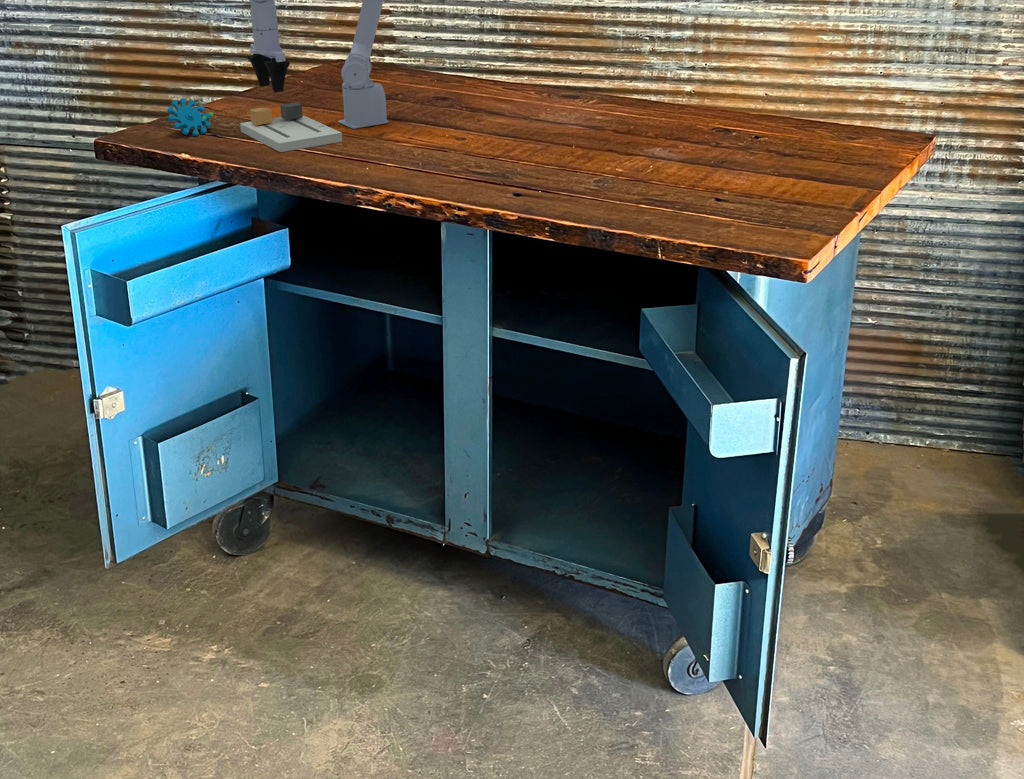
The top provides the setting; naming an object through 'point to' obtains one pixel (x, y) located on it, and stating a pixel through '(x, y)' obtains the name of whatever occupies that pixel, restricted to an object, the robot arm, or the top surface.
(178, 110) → the gear
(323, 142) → the fader panel
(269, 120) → the tan fader
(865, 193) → the top surface
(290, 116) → the black fader
